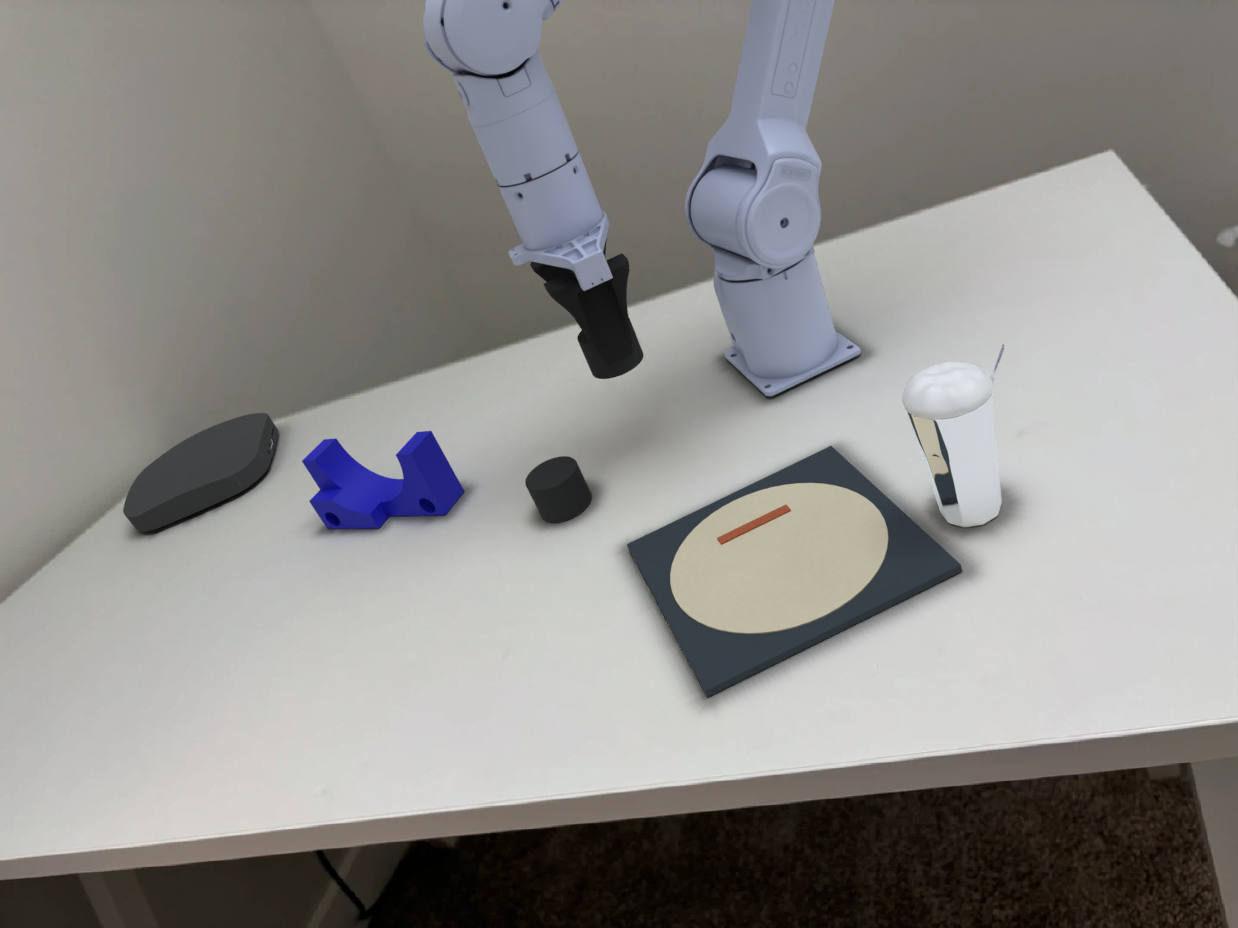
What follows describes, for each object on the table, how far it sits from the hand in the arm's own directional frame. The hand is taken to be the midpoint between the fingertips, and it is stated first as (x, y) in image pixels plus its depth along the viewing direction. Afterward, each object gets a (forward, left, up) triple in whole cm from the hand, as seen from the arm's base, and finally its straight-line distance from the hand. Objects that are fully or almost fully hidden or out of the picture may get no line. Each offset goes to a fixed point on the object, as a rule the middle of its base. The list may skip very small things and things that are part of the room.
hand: (611, 347), depth 68 cm
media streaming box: (-32, -40, -9) cm, 52 cm away
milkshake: (+23, +13, -9) cm, 28 cm away
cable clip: (-8, -21, -9) cm, 24 cm away
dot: (0, 0, -1) cm, 1 cm away
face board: (+19, +2, -8) cm, 21 cm away
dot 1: (+3, -8, -8) cm, 12 cm away
